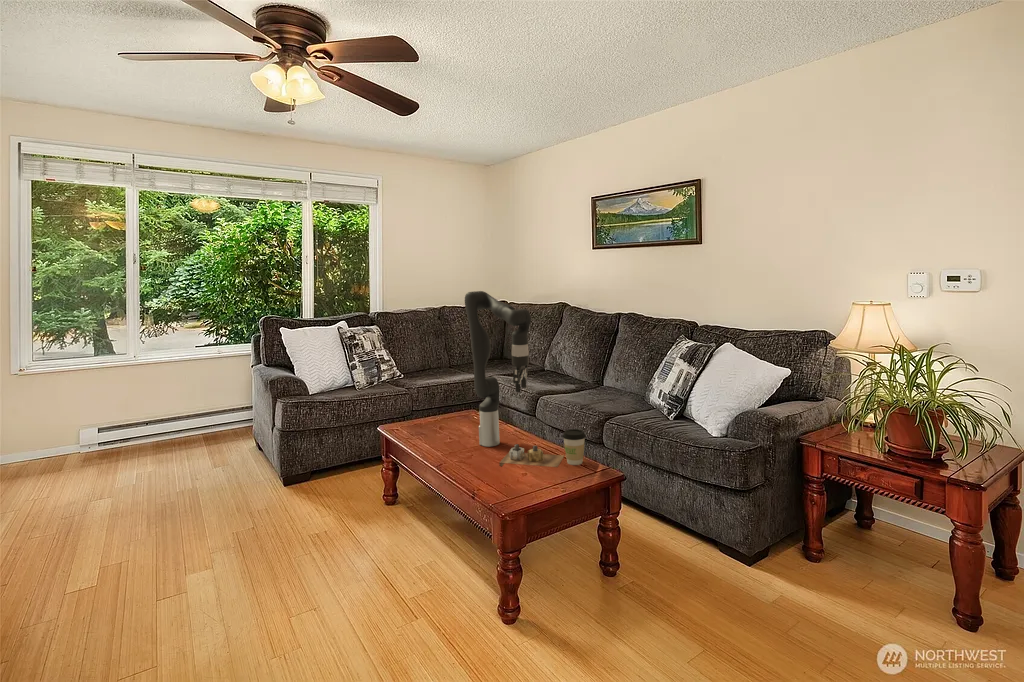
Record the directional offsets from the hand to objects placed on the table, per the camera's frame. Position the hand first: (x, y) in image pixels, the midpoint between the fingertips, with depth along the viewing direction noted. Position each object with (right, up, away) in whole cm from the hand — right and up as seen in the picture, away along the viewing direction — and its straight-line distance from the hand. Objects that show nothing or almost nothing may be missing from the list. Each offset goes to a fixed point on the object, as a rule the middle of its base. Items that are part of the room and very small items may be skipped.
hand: (521, 389), depth 236 cm
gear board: (+5, -32, -3) cm, 32 cm away
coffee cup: (+23, -32, -8) cm, 40 cm away
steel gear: (-2, -30, -1) cm, 30 cm away
